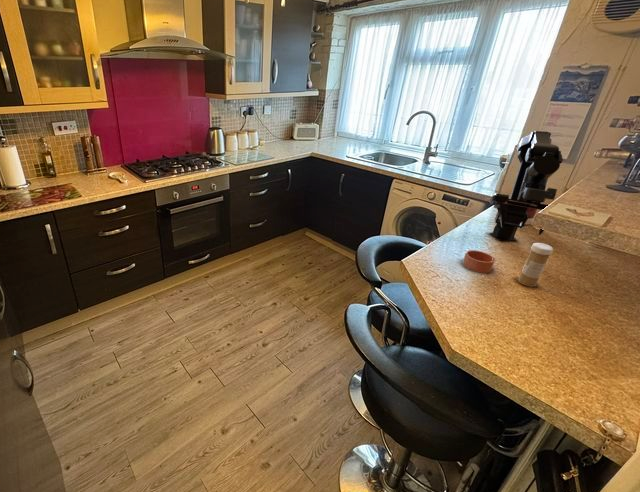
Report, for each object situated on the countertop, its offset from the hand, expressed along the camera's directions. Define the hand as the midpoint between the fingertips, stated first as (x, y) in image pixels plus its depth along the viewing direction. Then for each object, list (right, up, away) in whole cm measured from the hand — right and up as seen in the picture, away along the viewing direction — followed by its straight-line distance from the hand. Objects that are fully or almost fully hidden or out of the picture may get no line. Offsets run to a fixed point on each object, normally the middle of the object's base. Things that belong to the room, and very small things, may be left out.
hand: (520, 230), depth 101 cm
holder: (-7, -12, +9) cm, 17 cm away
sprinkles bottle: (+2, -17, 0) cm, 17 cm away
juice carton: (+35, +2, +41) cm, 54 cm away
